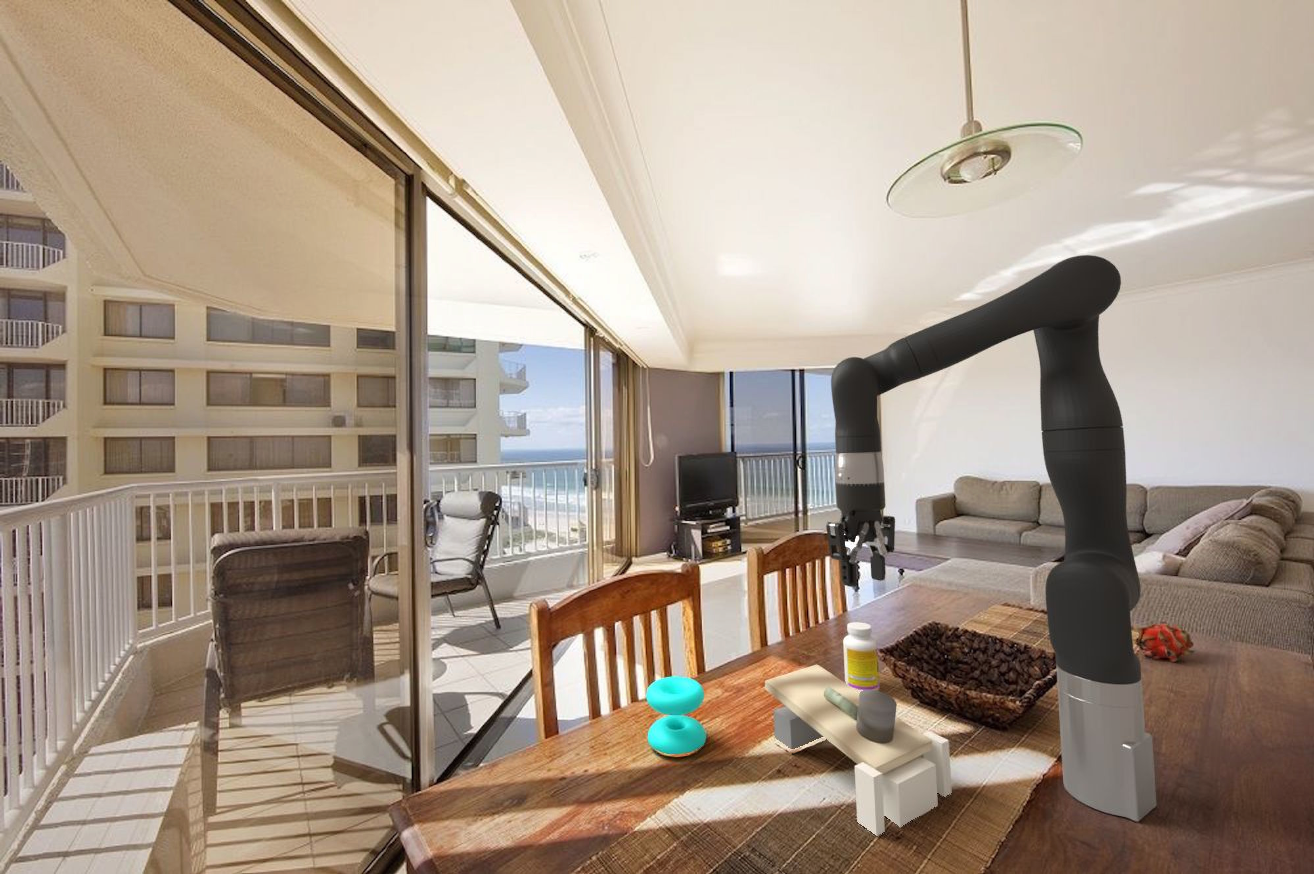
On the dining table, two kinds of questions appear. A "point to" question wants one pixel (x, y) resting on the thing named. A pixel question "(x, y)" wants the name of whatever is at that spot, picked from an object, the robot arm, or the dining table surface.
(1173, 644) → the dragon fruit
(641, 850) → the dining table surface
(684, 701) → the donuts
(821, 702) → the board
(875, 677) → the supplement bottle
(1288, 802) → the dining table surface
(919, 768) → the level stand
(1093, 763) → the robot arm
